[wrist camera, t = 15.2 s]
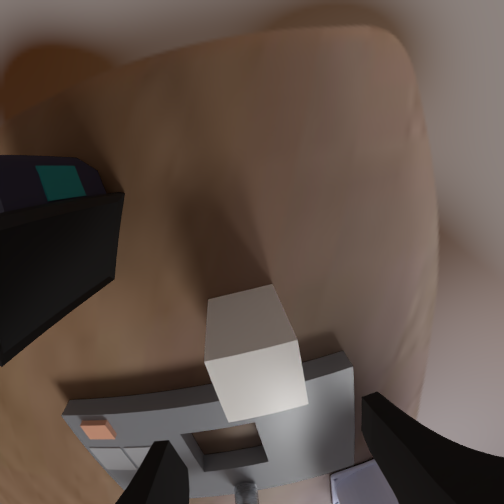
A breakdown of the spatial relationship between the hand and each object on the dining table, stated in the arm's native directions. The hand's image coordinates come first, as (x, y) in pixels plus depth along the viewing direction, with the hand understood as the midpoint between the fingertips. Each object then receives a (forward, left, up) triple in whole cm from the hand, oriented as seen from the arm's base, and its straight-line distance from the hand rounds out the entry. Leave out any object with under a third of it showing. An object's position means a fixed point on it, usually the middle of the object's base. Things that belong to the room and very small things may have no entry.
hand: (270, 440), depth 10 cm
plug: (0, 0, -10) cm, 10 cm away
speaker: (+9, +9, -10) cm, 16 cm away
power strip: (-11, +5, -10) cm, 16 cm away
